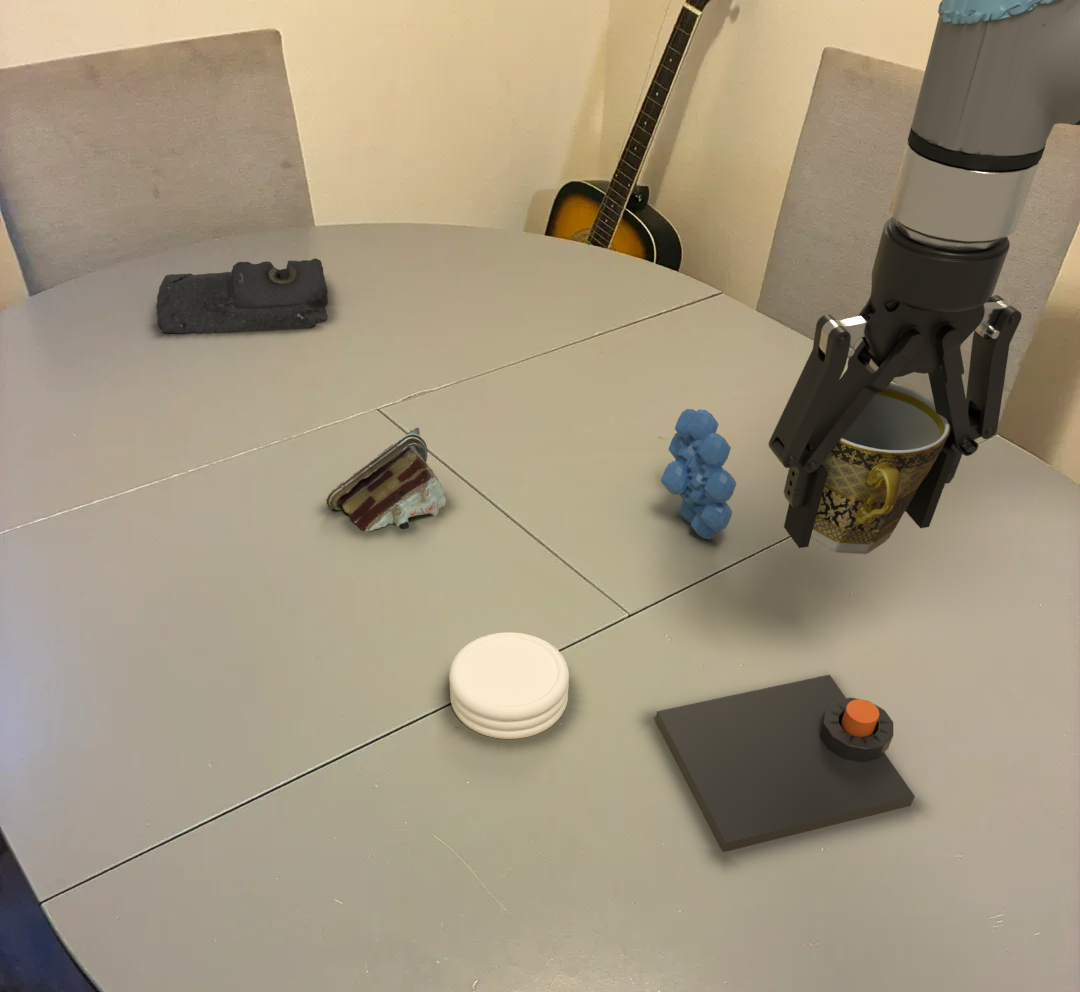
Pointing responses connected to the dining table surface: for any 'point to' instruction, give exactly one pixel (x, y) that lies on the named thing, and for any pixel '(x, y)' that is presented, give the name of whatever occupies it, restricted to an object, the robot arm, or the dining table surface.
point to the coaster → (509, 685)
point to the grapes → (700, 473)
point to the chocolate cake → (391, 487)
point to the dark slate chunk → (244, 299)
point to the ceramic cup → (878, 470)
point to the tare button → (860, 718)
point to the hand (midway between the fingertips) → (856, 526)
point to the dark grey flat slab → (781, 762)
